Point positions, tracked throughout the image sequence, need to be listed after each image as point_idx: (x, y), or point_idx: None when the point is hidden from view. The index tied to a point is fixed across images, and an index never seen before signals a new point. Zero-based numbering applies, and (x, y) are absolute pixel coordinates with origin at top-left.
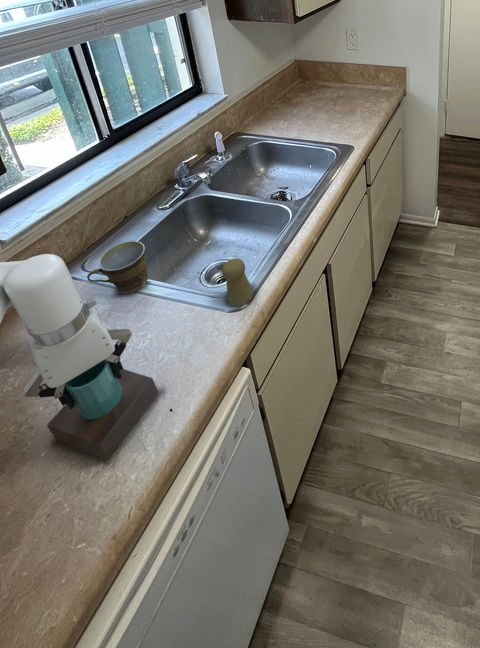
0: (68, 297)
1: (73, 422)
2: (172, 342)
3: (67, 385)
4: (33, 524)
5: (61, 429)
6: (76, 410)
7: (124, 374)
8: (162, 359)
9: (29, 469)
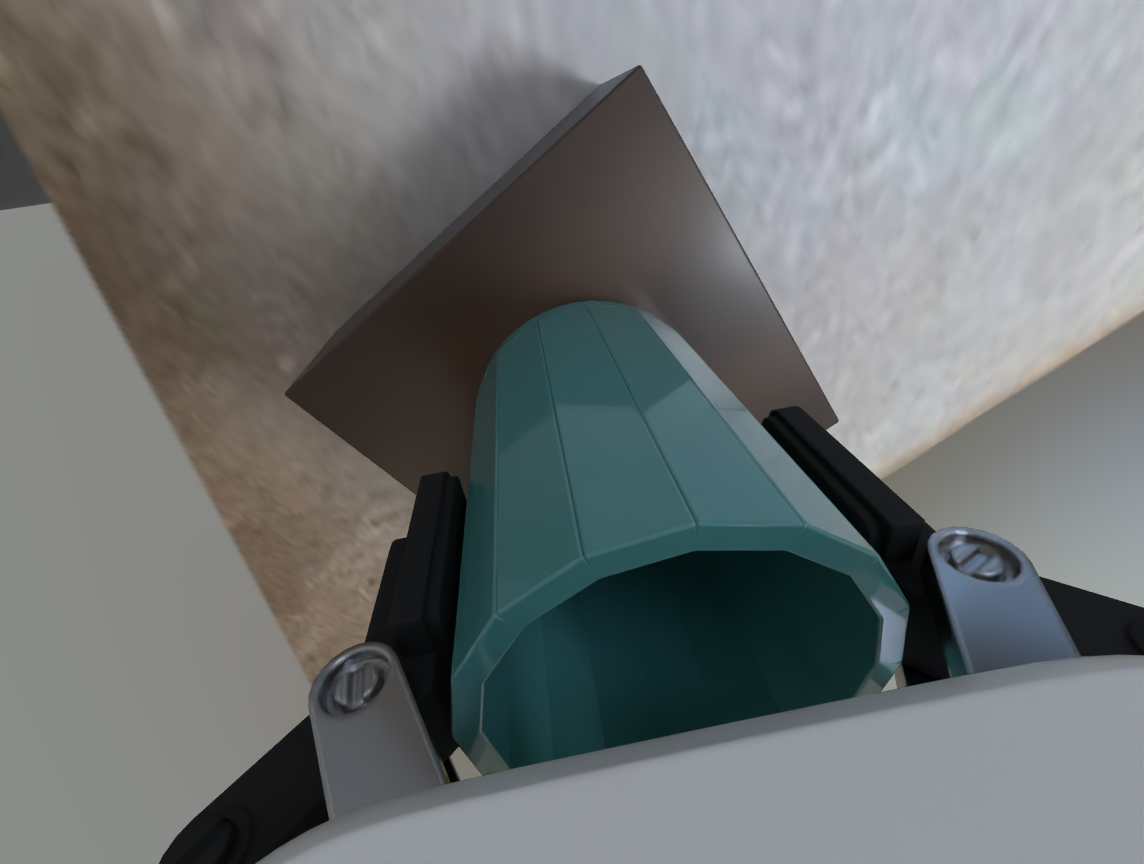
0: None
1: (442, 457)
2: (972, 46)
3: (497, 769)
4: (328, 584)
5: (382, 463)
6: (451, 395)
7: (735, 301)
8: (867, 156)
9: (243, 403)
